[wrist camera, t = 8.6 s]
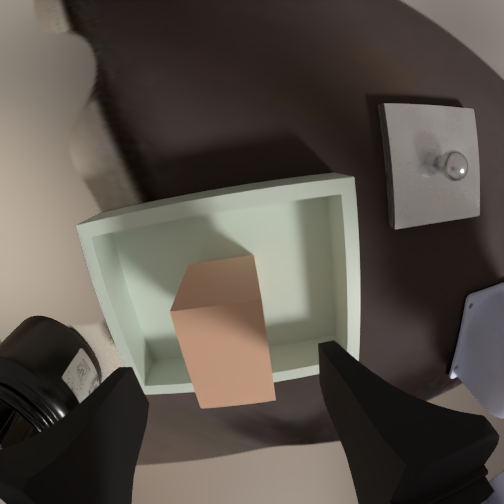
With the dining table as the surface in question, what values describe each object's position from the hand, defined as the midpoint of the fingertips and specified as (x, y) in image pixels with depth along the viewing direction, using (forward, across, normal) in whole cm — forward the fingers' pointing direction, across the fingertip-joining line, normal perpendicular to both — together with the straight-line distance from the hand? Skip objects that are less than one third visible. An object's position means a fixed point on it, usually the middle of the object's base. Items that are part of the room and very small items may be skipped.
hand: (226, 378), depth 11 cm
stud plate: (+9, -15, -6) cm, 19 cm away
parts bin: (+9, 0, 0) cm, 9 cm away
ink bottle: (+10, +16, +5) cm, 19 cm away
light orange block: (+9, 0, 0) cm, 9 cm away
